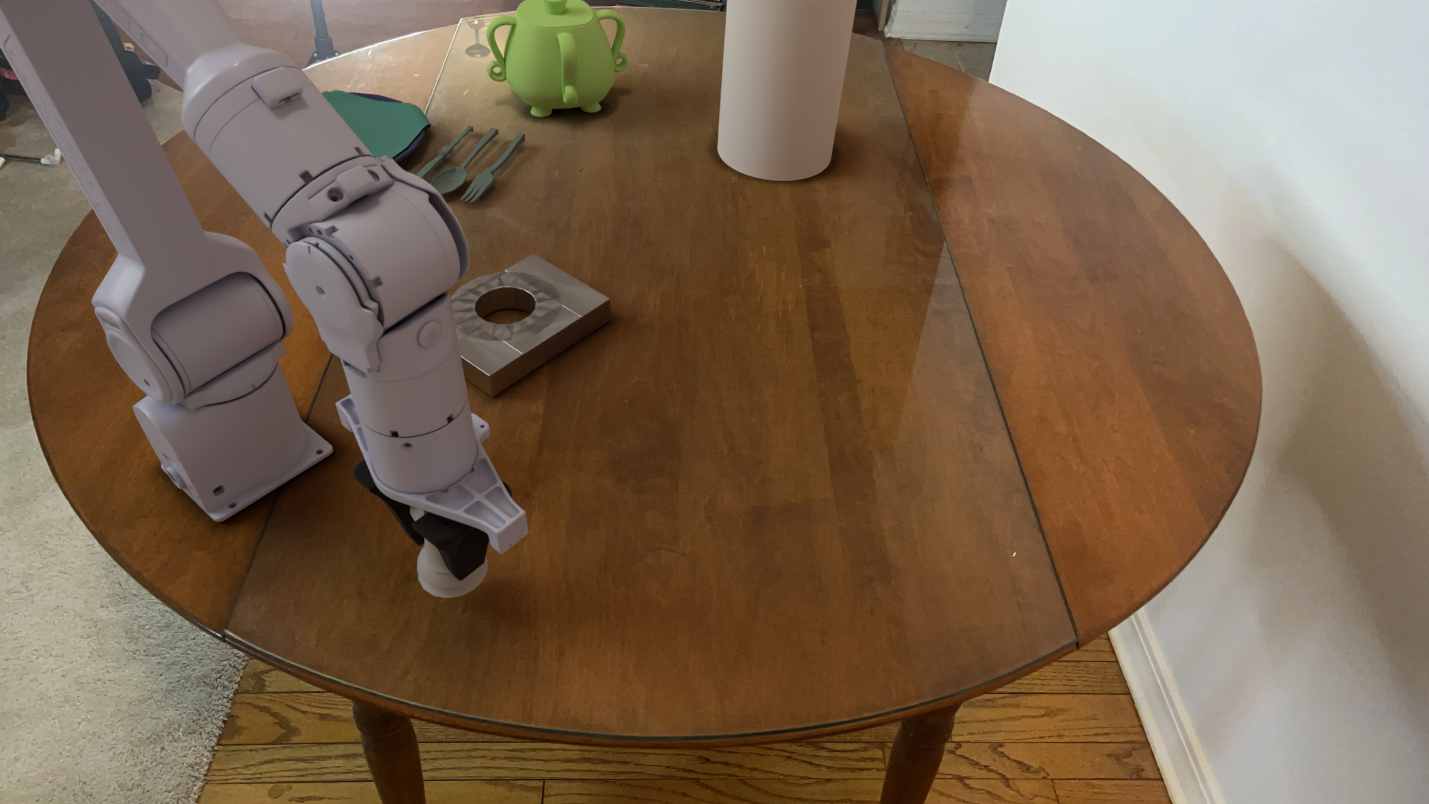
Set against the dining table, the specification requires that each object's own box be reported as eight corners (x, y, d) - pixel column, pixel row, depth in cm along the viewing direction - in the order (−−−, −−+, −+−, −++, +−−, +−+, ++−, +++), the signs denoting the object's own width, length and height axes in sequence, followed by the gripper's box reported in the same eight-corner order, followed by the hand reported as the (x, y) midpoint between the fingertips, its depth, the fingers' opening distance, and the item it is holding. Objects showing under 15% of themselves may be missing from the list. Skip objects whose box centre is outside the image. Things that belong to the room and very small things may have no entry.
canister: (827, 187, 102) (856, 6, 88) (708, 171, 103) (719, -10, 89) (834, 131, 111) (862, -40, 97) (726, 117, 112) (738, -54, 98)
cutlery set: (308, 95, 110) (304, 77, 108) (538, 139, 106) (536, 121, 104) (200, 174, 96) (193, 154, 95) (459, 228, 92) (456, 209, 90)
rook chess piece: (493, 545, 61) (479, 467, 55) (483, 602, 58) (467, 525, 52) (426, 545, 61) (405, 466, 55) (412, 602, 58) (388, 524, 52)
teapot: (469, 98, 112) (454, -7, 103) (545, 60, 121) (537, -39, 112) (569, 138, 106) (562, 31, 97) (642, 95, 115) (641, -6, 106)
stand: (492, 398, 75) (488, 375, 73) (409, 339, 79) (404, 317, 77) (610, 320, 83) (610, 298, 81) (529, 271, 87) (526, 249, 86)
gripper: (562, 425, 47) (574, 575, 57) (391, 306, 53) (427, 459, 63) (455, 503, 43) (487, 650, 53) (282, 364, 49) (339, 519, 59)
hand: (449, 551), depth 58 cm, fingers closed on rook chess piece, 3 cm apart
